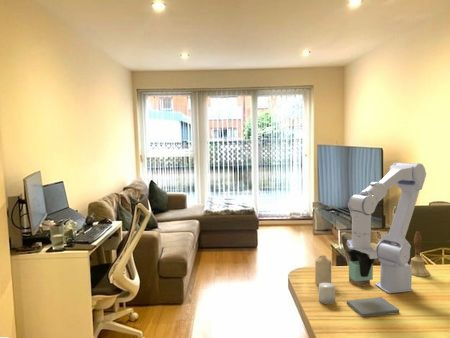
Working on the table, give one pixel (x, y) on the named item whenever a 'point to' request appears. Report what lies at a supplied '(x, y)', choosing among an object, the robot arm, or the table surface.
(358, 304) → the slate board
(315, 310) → the table surface
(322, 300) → the grey cylinder
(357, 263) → the teal brick
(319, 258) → the candle
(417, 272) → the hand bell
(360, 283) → the walnut block
